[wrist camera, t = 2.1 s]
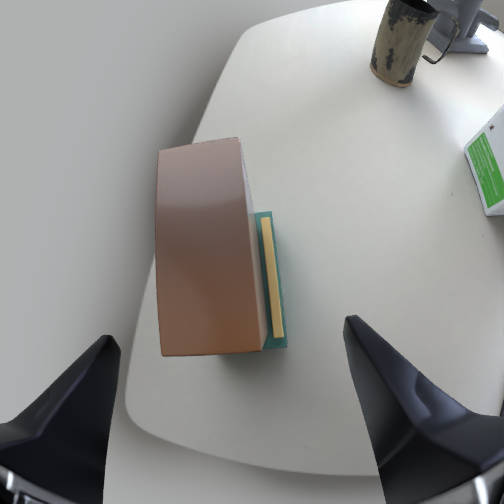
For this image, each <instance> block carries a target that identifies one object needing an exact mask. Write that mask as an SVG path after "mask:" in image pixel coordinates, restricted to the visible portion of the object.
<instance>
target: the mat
mask: <svg viewBox="0 0 504 504" xmlns="http://www.w3.org/2000/svg"><path fill="white" fill-rule="evenodd" d="M500 417H504V401H503V405H502V410H501V414H500Z"/></svg>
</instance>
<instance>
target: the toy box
mask: <svg viewBox="0 0 504 504" xmlns="http://www.w3.org/2000/svg"><path fill="white" fill-rule="evenodd" d="M254 214H255V219H256V224H257V232H258V241H259V250H260V259H261V268H262V277H263V286H264V296H265V305H266V315H267V324H268V335H267V338H266V340H265V343H264V345H263V348H262V350H264V349H274V348H282V347H287V336H286V327H285V317H284V308H283V299H282V291H281V282H280V274H279V265H278V257H277V249H276V241H275V233H274V225H273V218H272V211H267V212H259V213H254Z"/></svg>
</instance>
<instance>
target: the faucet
mask: <svg viewBox="0 0 504 504" xmlns="http://www.w3.org/2000/svg"><path fill="white" fill-rule="evenodd" d="M482 1H483V0H453V1H452V0H427V3H428V4H430V5H431V6H433V7H434V8H435V9H436V10H437V11H440V10H443V11H446V12H448V13H450V14H451V15H453V16H454V17H455V18H457V20H458V21H459V23H460V28H461V30H460V32H459V34H458V36H457V37H456V39H455V41H454V43H453V44H452V46H451V48H450V49H449V51H448V52H447V53H485V54H487V52H488V51H489V49H488V48H487V46H486V45H485V44H484V43H483V42H482V41H481V40H480V39H479V38H478V37H477V36H476V35H475V32H476V30H477V28H478V26H479V24H480V23H481V24H483V25H485V26H486V27H488V28H490V29H491V30H493V31H496V30H497V29H498V27H499V21H498V19H497V18H496V17H494V16H493V15H491V14H489V13H488V12H486V11H485V10H483V9H481V8H479V7H480V5H481V3H482ZM455 32H456V25H455V23H454V22H453V20H452V19H450V18H449V17H448V16H446V15H444V14H443V13H440V14H439V15H438V17H437V19H436V20H435V22H434V24H433V26H432V28H431V30H430V32H429V35H428V37H427V40H429V41H430V42H431V43H432V44H433V45H434V46H435V47H437V48H438V49H439V50H440V51H441V52H442V53H444V52H445V50H446V49H447V47H448V45H449V43H450V42H451V40H452V38H453V36H454V34H455Z"/></svg>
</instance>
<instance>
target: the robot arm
mask: <svg viewBox="0 0 504 504" xmlns="http://www.w3.org/2000/svg"><path fill="white" fill-rule="evenodd" d="M343 337H344V342H345V347H346V352H347V357H348V362H349V367H350V372H351V376H352V379H353V382H354V386H355V389H356V392H357V395H358V398H359V402H360V405H361V408H362V412H363V415H364V419H365V422H366V426H367V429H368V433H369V436H370V440H371V444H372V447H373V451H374V455H375V459H376V462H377V466H378V471H379V475H380V479H381V483H382V487H383V491H384V496H385V500H386V504H504V417H498V416H489V415H481V414H477V413H474V412H472V411H470V410H468V409H467V408H465V407H464V406H463V405H461V404H460V403H458V402H457V401H456V400H454V399H453V398H452V397H450V396H449V395H447V394H446V393H445V392H443V391H442V390H441V389H440V388H438V387H437V386H436V385H434V384H433V383H432V382H431V381H430V380H429V379H428V378H426V377H425V376H424V375H423V374H422V373H421V372H420V371H418V370H417V369H416V368H415V367H414V366H413V365H412V364H411V363H410V362H409V361H408V360H407V359H405V358H404V357H403V356H402V355H401V354H400V353H399V352H398V351H397V350H395V349H394V348H393V347H392V346H391V345H390V344H389V343H388V342H387V341H385V340H384V339H383V338H382V337H381V336H380V335H379V334H378V333H377V332H375V331H374V330H373V329H372V328H371V327H370V326H369V325H368V324H366V323H365V322H364V321H363V320H362V319H361V318H360V317H359V316H357V315H352V316H347V317H346V318H345V323H344V330H343ZM120 357H121V350H120V347H119V346H118V344H117V343H116V341H115V339H114V338H113V336H111V335H103V336H101V337H100V338H99V339H98V340H97V341H96V342H95V343H94V344H93V345H91V346H90V347H89V348H88V349H87V350H86V351H85V352H84V353H83V354H82V355H81V356H80V357H79V358H78V359H77V360H76V361H75V362H74V363H73V364H72V365H71V366H70V367H69V368H68V369H66V370H65V371H64V372H63V373H62V374H61V376H59V377H58V378H57V379H56V380H55V381H54V382H53V383H52V384H51V385H50V386H49V388H47V389H46V390H45V391H44V392H43V393H42V394H41V395H40V396H39V397H38V398H37V399H36V400H35V401H34V402H33V403H32V404H30V405H29V406H28V407H27V408H26V409H25V410H24V411H22V412H21V413H20V414H19V415H18V416H17V417H15V418H14V419H13V420H11V421H9V422H7V423H2V424H0V504H103V489H104V477H105V465H106V455H107V447H108V440H109V433H110V426H111V419H112V414H113V407H114V402H115V397H116V391H117V384H118V377H119V366H120Z"/></svg>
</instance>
